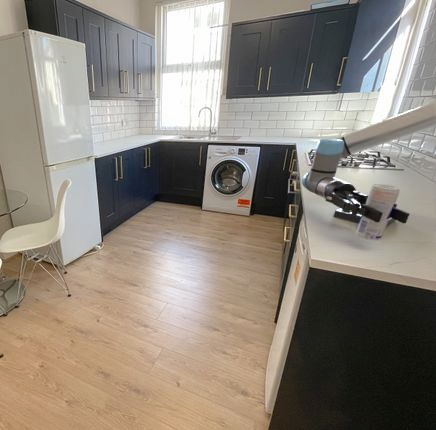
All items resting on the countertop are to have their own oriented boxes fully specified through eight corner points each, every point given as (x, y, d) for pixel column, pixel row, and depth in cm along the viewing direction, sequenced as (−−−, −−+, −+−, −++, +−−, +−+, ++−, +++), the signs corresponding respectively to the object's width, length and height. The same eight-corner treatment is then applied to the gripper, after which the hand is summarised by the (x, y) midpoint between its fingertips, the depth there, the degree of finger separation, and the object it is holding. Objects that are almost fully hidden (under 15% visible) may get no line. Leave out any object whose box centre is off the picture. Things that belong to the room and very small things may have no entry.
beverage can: (385, 242, 76) (406, 189, 71) (362, 240, 77) (381, 188, 72) (372, 233, 81) (390, 183, 76) (350, 232, 82) (367, 182, 77)
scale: (395, 220, 100) (398, 212, 99) (382, 230, 92) (385, 221, 91) (348, 209, 110) (350, 201, 109) (333, 216, 103) (335, 208, 102)
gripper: (362, 202, 93) (426, 232, 72) (303, 201, 95) (349, 229, 74) (370, 181, 91) (439, 205, 69) (309, 179, 92) (358, 203, 71)
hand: (392, 217), depth 72 cm, fingers closed on beverage can, 6 cm apart
